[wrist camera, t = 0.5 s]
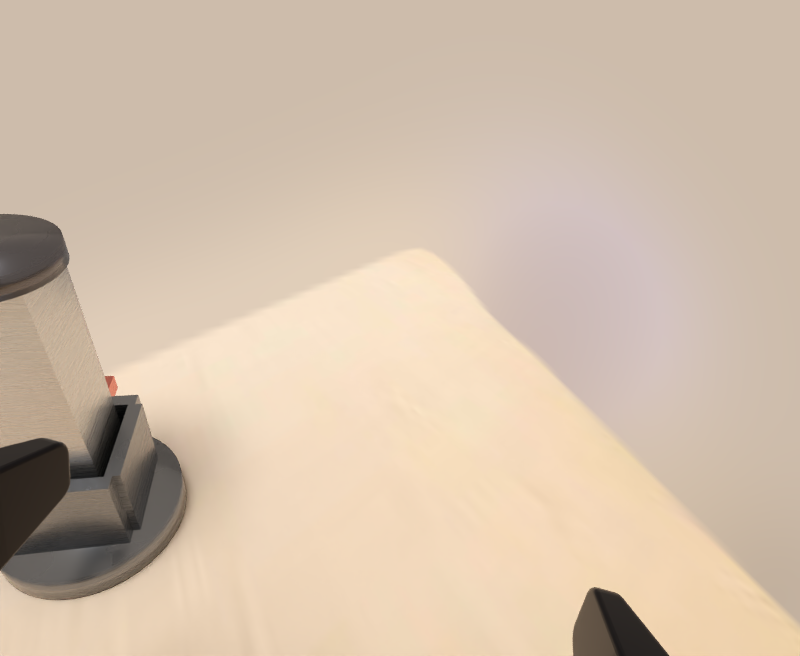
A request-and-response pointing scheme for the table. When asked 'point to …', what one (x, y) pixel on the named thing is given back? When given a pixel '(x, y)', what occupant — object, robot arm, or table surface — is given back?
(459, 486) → the table surface
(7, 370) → the column
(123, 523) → the stand
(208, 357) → the table surface
